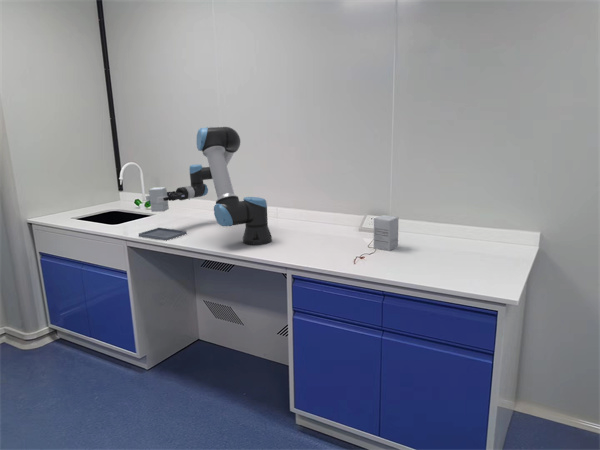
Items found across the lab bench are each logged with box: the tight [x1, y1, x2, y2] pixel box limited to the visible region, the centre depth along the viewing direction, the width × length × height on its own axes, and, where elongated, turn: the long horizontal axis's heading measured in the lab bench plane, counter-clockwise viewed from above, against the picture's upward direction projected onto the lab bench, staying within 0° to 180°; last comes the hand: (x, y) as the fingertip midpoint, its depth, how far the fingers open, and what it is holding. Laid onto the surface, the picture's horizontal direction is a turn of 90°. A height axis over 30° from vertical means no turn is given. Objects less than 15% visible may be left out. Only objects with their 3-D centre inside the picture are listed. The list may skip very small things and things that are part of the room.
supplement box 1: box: [148, 186, 169, 212], centre depth 236 cm, size 7×7×13 cm
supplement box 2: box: [373, 214, 399, 252], centre depth 204 cm, size 9×9×15 cm
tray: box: [138, 227, 187, 242], centre depth 241 cm, size 22×15×2 cm
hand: (152, 199), depth 233 cm, fingers closed on supplement box 1, 10 cm apart
